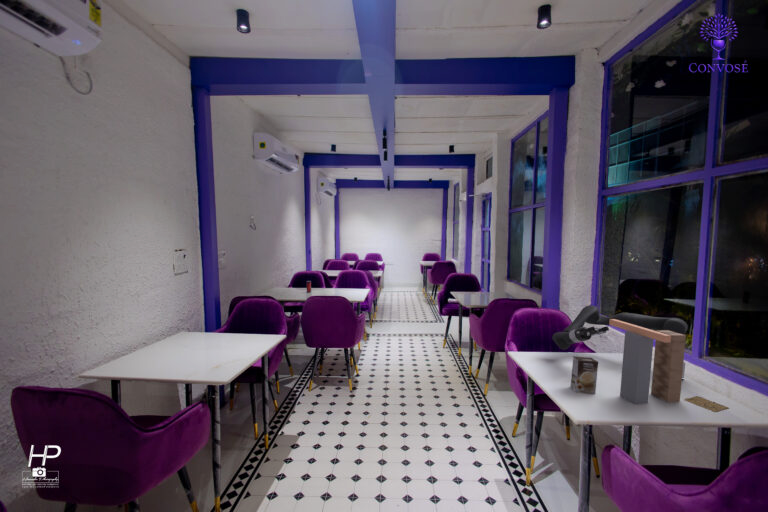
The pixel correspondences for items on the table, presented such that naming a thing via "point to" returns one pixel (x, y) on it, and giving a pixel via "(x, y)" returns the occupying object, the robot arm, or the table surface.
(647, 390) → the grey stand
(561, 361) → the table surface
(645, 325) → the robot arm
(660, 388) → the walnut stand
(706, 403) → the sandy brown tile
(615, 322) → the bar
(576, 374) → the coffee box
